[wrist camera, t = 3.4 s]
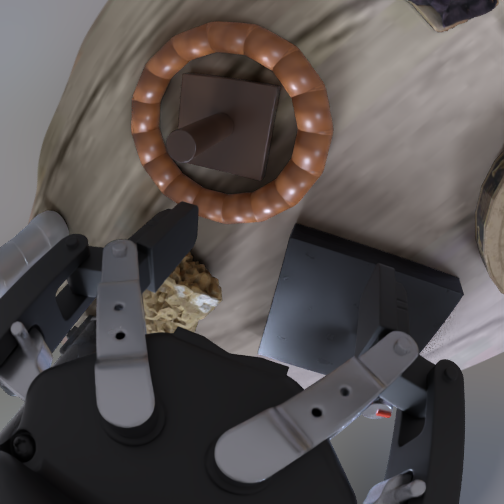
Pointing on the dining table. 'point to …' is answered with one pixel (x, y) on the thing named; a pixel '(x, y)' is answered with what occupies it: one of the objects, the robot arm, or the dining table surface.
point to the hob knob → (379, 409)
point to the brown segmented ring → (294, 81)
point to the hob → (343, 299)
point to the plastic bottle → (29, 247)
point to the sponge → (182, 298)
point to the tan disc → (492, 223)
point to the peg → (225, 124)
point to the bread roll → (451, 11)
